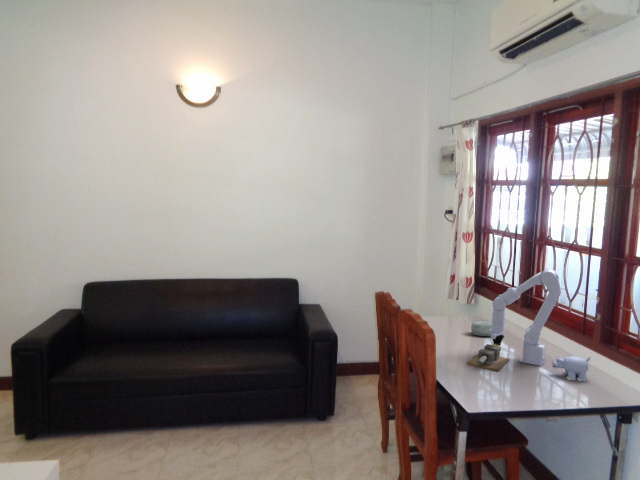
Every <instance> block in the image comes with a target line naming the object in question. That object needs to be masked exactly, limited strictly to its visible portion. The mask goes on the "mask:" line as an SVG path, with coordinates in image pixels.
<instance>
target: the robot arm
mask: <svg viewBox="0 0 640 480" xmlns="http://www.w3.org/2000/svg"><path fill="white" fill-rule="evenodd" d="M542 285H544V286H545V287H546V290H547V292H548V294H547V295H546V297H545V300H544V301H543V303H542V305H541V307H540V308H539V311H538V312H537V314H536V316H535V318H534V320H533V321H532V324H530V326H529V327H527V328H526V330H525V333H524V336H523V337H524V338H523V344H522V357H521V358H520V359H519V362H520V363H526V364H530V365H534V366H538V367H542V366H543V364H544V363H545V362H546V347H547V346H546V345H545V344H542V343H541V341H540V337H541V332H542V331H543V328H544V326H545V324H546V322H547V321H548V319H549V317H550V315H551V313H552V311H553V309H554V307H555V306H556V303H557V301H558V300H559V298H560V296H561V294H562V288H561V283H560V277H559V275H558V273H557V272H556V270H555V269H553V268H546V269H543V271H540V272H538V273H536V274H534V275H533V276H531V277H530V278H528V279H527V280H526V281H525V282H523V283H521V284H520V285H519V286H517V287H508V288H507V289H506V291H505V292H503V293H502V294H501V293H500V294H498V296H497V297H496V298H494V300H493V301H492V318H491V321H492V329H490V330H489V331H490V332H491V336H490V339H491V340H492V345H493V344H495V343H497V344H499V345H500V346H501V344H502V343H503V340H504V338H505V324H506V307H507V306H509V305H511V304H512V303H514V302H515V301H518V300H519V299H520V298H521V294H522V293H524V292H526V291H527V290H529V289H531V288H532V287H535V286H542Z"/></svg>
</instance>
